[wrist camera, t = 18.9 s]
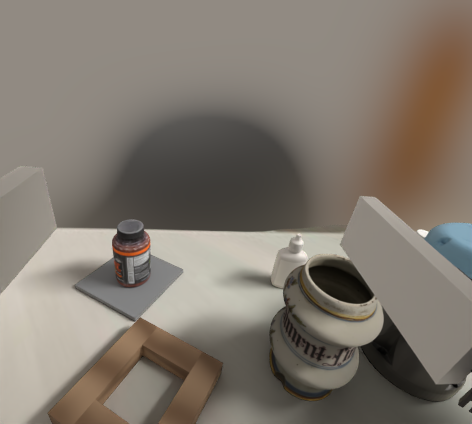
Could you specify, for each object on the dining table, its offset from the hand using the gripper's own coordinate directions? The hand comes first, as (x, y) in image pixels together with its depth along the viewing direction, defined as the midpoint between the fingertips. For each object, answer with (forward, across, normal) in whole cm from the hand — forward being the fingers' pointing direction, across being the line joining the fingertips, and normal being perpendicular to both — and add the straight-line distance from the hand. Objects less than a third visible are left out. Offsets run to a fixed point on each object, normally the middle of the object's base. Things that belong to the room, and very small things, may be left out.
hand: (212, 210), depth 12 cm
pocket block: (+8, -5, -32) cm, 33 cm away
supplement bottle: (+27, -11, -31) cm, 43 cm away
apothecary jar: (+11, +17, -32) cm, 38 cm away
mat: (+27, -11, -32) cm, 44 cm away
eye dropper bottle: (+28, +18, -32) cm, 46 cm away
